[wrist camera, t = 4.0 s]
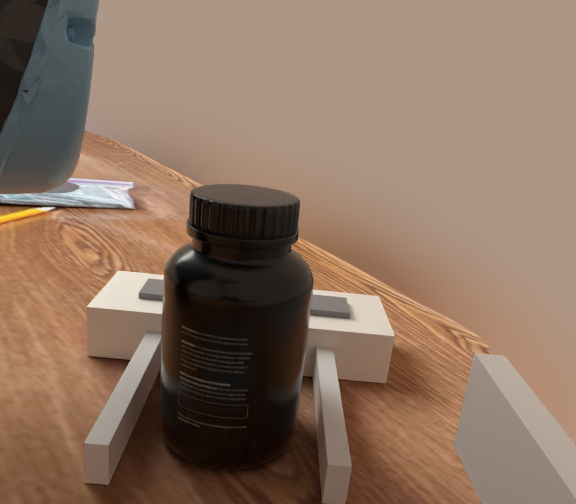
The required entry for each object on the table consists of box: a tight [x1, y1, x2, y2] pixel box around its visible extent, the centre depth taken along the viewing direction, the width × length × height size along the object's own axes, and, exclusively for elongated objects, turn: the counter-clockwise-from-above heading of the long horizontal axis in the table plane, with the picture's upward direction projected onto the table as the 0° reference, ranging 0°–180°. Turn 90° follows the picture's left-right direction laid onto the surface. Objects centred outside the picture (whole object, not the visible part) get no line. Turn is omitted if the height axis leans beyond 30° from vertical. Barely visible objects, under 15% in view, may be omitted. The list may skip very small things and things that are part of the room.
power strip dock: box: [84, 271, 395, 504], centre depth 29 cm, size 18×16×4 cm
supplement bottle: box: [159, 184, 314, 470], centre depth 25 cm, size 7×7×12 cm
